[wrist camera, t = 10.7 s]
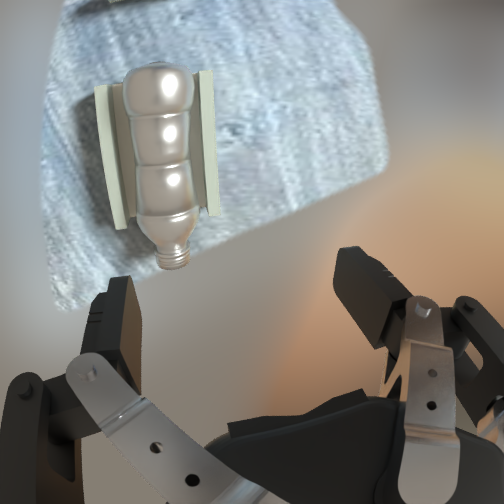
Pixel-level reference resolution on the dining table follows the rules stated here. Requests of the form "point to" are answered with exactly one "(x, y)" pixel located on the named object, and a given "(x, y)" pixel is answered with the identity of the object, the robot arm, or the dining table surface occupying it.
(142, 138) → the silver metal bottle
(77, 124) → the dining table surface
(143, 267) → the dining table surface
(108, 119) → the cradle
